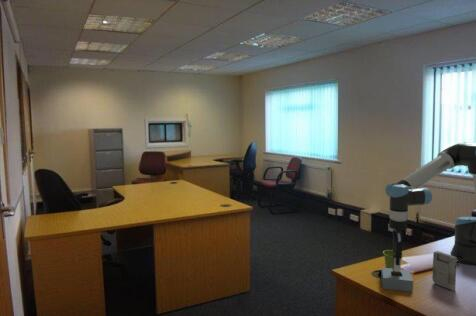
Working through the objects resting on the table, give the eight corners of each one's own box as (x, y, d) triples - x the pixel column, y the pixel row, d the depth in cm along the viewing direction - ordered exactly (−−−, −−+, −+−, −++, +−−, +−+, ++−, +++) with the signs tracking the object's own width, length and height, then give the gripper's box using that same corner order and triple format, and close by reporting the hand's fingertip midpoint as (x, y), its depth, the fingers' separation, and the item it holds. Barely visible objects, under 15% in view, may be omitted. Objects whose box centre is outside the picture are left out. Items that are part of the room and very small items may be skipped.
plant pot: (393, 265, 189) (393, 249, 188) (407, 272, 180) (407, 255, 179) (378, 267, 186) (378, 251, 185) (391, 275, 177) (392, 257, 176)
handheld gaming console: (456, 289, 161) (457, 256, 159) (451, 291, 159) (452, 258, 158) (436, 281, 169) (437, 250, 167) (431, 283, 167) (432, 251, 166)
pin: (399, 277, 167) (400, 252, 166) (400, 280, 164) (401, 254, 163) (392, 276, 168) (392, 251, 167) (392, 279, 165) (393, 254, 164)
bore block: (408, 280, 170) (409, 270, 170) (412, 291, 159) (413, 280, 159) (381, 277, 174) (381, 267, 174) (383, 288, 163) (383, 277, 162)
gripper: (387, 214, 172) (386, 262, 175) (391, 223, 157) (389, 275, 159) (405, 215, 170) (403, 264, 172) (410, 224, 155) (408, 277, 157)
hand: (396, 269), depth 166 cm, fingers closed on pin, 3 cm apart
